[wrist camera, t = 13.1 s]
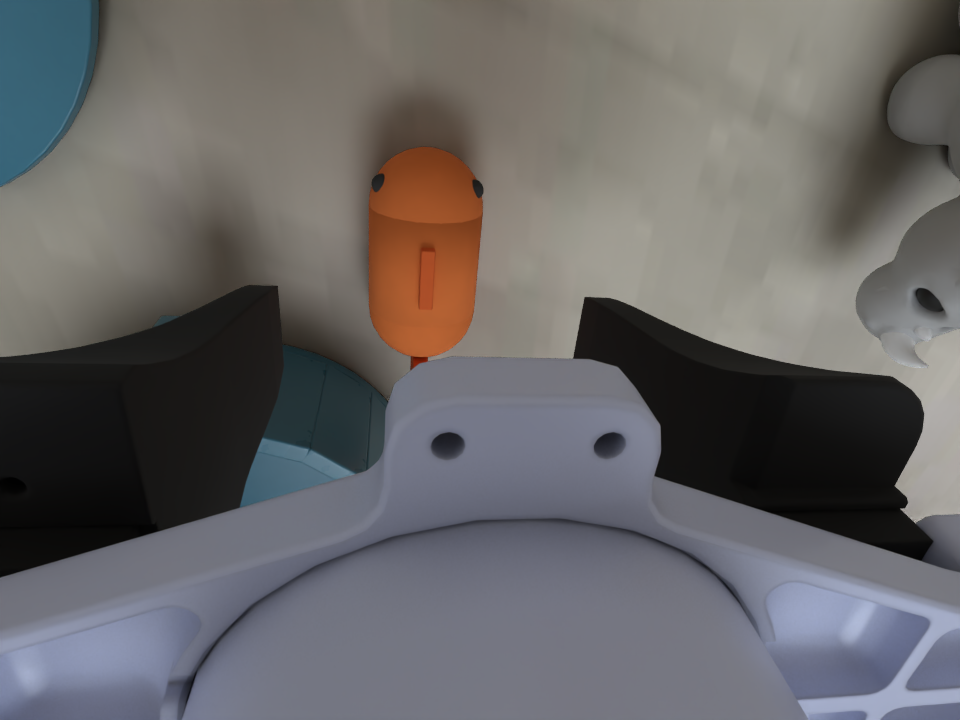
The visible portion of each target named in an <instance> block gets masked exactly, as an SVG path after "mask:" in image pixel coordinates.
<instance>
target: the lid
mask: <svg viewBox="0 0 960 720" xmlns="http://www.w3.org/2000/svg"><path fill="white" fill-rule="evenodd" d="M98 29H99V0H0V187H1V186H3V185H6V184H8V183H10V182H12V181H13V180H15V179H16V178H18V177H20V176H21V175H23V174H24V173H26V172H28V171H29V170H31V169H32V168H33V167H35V166H36V165H37V164H38V163H39V162H40V161H41V160H42V159H44V158H45V157H46V156H47V155H48V154H49V153H50V152H51V151H52V150H53V149H54V148H55V147H56V145H57V144H58V143H59V142H60V140H61V139H62V138H63V136H64V135H65V134H66V133H67V131H68V130H69V129H70V127H71V125H72V123H73V121H74V119H75V117H76V116H77V114H78V112H79V110H80V108H81V106H82V104H83V102H84V99H85V96H86V93H87V90H88V87H89V84H90V81H91V78H92V75H93V70H94V64H95V58H96V52H97V46H98Z"/></svg>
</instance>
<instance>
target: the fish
mask: <svg viewBox="0 0 960 720" xmlns="http://www.w3.org/2000/svg"><path fill="white" fill-rule="evenodd" d="M482 194H483V186H482V184H481V183H480V182H479V181H478V180H476V178H475V176H474V175H473V173H472V172H471V170H470V169H469V168H468V167H467V166H466V165H465V164H464V163H463V162H462V161H461V160H460V159H459V158H457V157H456V156H454V155H452V154H451V153H449V152H446V151H443V150H441V149H438V148H432V147H418V148H413V149H408V150H406V151H403V152H401V153H399V154H397V155H395V156H394V157H393V158H391V159H390V160H389V161H387V162H386V164H385V165H384V166H383V167H382V168H381V169H380V171H379V172H378V174H377V175H376V176H375V177H374V178H373V180H372V187H371V191H370V197H369V309H370V317H371V320H372V323H373V326H374V328H375V329H376V331H377V332H378V334H379V336H380V337H381V338H382V339H383V340H384V341H385V342H386V343H387V344H388V345H389V346H390V347H392V348H393V349H395V350H397V351H398V352H400V353H402V354H405V355H409V356H411V368H410V371H411V370H412V369H413V368H414V367H416V366H417V365H418V364H419V363H424V362H428V357H430V356H435V355H439V354H441V353H443V352H445V351H448V350H449V349H451V348H452V347H453V346H455V345H456V344H457V343H458V342H459V341H460V340H461V339H462V338H463V336H464V335H465V334H466V332H467V330H468V328H469V325H470V323H471V321H472V317H473V312H474V303H475V292H476V281H477V270H478V259H479V248H480V237H481V226H482V215H483V201H482Z"/></svg>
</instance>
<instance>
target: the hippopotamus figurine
mask: <svg viewBox="0 0 960 720" xmlns="http://www.w3.org/2000/svg"><path fill="white" fill-rule="evenodd" d="M958 20H959V28H960V4H959V12H958ZM887 119H888V124H889V127H890V129H891V130H892V132H893V133H894V134H895V135H896V136H898V137H899V138H901V139H903V140H905V141H908V142H912V143H916V144H923V145H948V146H949V149H948V163H949V167H950V169H951V171H952V173H953V174H954V175H955V176H956V177H957V178H958V179H959V181H960V55H955V54H949V55H940V56H935V57H932V58H929V59H926V60H924V61H922V62H920V63H918V64H917V65H915V66H914V67H912V68H911V69H909V70H908V71H907V72H906V73H905V74H904V75H903V76H902V77H901V78H900V79H899V80H898V82H897V83H896V84H895V86H894V88H893V90H892V92H891V95H890V99H889V102H888V108H887ZM856 311H857V314H858V316H859V318H860V320H861V322H862V323H863V325H864V326H865V328H866V329H867V330H868V331H869V332H870V333H871V334H872V335H874V336H875V337H877V338H879V340H880V341H881V343H882V346H883V348H884V350H885V352H886V353H887V354H888V356H889V357H890V358H891V359H893V360H894V361H896V362H897V363H900V364H902V365H905V366H910V367H916V368H928V366H929V365H927V364H926V363H924V362H923V361H922V360H921V359H920V358H919V357H918V356H917V354H916V353H915V350H914V344H917V343H918V342H922V341H930V339H931V338H933V337H936V336H939V335H942V334H945V333H947V332H950V331H953V330H956V329H960V195H959V196H958V197H956V198H954V199H952V200H950V201H948V202H945V203H943V204H941V205H939V206H937V207H935V208H934V209H932V210H930V211H929V212H927V213H926V214H924V215H923V216H922V217H920V218H919V219H918V220H917V221H916V222H915V223H914V224H913V225H912V226H911V227H910V228H909V230H908V231H907V232H906V234H905V235H904V237H903V239H902V241H901V243H900V246H899V249H898V251H897V254H896V256H895V259H894V260H893V261H892V262H890V263H888V264H885V265H883V266H881V267H880V268H878V269H876V270H875V271H873V272H872V273H871V274H870V275H869V276H867V277H866V278H865V280H864V281H863V282H862V284H861V286H860V287H859V290H858V292H857V296H856Z"/></svg>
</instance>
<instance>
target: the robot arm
mask: <svg viewBox="0 0 960 720" xmlns="http://www.w3.org/2000/svg"><path fill="white" fill-rule="evenodd" d="M283 369H284V358H283V345H282V333H281V320H280V308H279V295H278V286H261V285H248V286H244V287H242V288H239V289H237V290H235V291H233V292H231V293H228V294H226V295H224V296H222V297H220V298H218V299H216V300H214V301H212V302H210V303H208V304H206V305H204V306H202V307H200V308H198V309H196V310H194V311H191V312H189V313H187V314H185V315H182V316H180V317H178V318H175V319H173V320H171V321H169V322H166V323H164V324H161V325H158V326H156V327H153V328H150V329H147V330H144V331H141V332H138V333H134V334H131V335H128V336H124V337H121V338H117V339H112V340H108V341H104V342H99V343H95V344H91V345H86V346H82V347H77V348H71V349H65V350H59V351H53V352H45V353H37V354H30V355H21V356H11V357H0V720H960V514H956V515H933V516H928V517H925V518H923V519H922V520H920V521H918V522H917V523H916V524H915V523H914V522H913V521H912V520H911V519H910V518H909V517H908V516H907V515H906V514H905V513H904V512H903V511H902V510H901V509H900V508H905V507H906V505H907V504H908V501H907V497H906V496H905V495H903V494H902V493H901V492H900V491H899V490H898V489H897V488H896V487H895V484H896V482H897V480H898V478H899V477H900V475H901V473H902V471H903V469H904V467H905V466H906V464H907V462H908V460H909V458H910V456H911V455H912V453H913V451H914V449H915V447H916V445H917V443H918V440H919V438H920V435H921V433H922V429H923V421H924V412H923V408H922V404H921V401H920V399H919V398H918V397H917V396H916V395H915V393H914V392H913V391H912V390H911V389H909V388H908V387H907V386H905V385H904V384H902V383H901V382H899V381H898V380H897V379H895V378H894V377H891V376H883V375H872V374H862V373H851V372H841V371H832V370H825V369H819V368H813V367H806V366H800V365H795V364H790V363H785V362H780V361H776V360H772V359H768V358H763V357H759V356H755V355H751V354H748V353H744V352H741V351H738V350H735V349H731V348H728V347H725V346H722V345H719V344H716V343H713V342H711V341H708V340H705V339H703V338H700V337H698V336H696V335H693V334H691V333H688V332H686V331H684V330H681V329H679V328H677V327H675V326H673V325H670V324H668V323H666V322H664V321H662V320H660V319H658V318H656V317H654V316H651V315H649V314H647V313H645V312H643V311H641V310H639V309H637V308H635V307H633V306H630V305H628V304H626V303H623V302H621V301H618V300H615V299H611V298H595V297H585V298H584V304H583V309H582V314H581V320H580V325H579V330H578V336H577V341H576V346H575V352H574V357H573V359H558V358H507V357H457V356H452V357H447V358H443V359H438V360H433V361H428V362H424V363H419V364H418V365H417V366H416V367H414V368H413V369H412V370H411V371H409V372H408V373H407V374H406V375H405V376H403V377H402V378H401V379H400V380H398V381H397V382H396V383H395V384H394V387H393V390H392V393H391V396H390V399H389V402H388V405H387V407H386V410H385V442H384V448H383V453H382V455H381V457H380V459H379V460H378V462H376V463H375V464H374V465H373V466H372V467H371V468H370V469H368V470H367V471H364V472H361V473H357V474H354V475H350V476H347V477H344V478H340V479H337V480H333V481H330V482H326V483H323V484H320V485H316V486H313V487H309V488H306V489H302V490H299V491H296V492H292V493H289V494H285V495H282V496H278V497H275V498H272V499H268V500H265V501H261V502H258V503H254V504H251V505H248V506H244V507H241V508H240V505H241V501H242V496H243V492H244V488H245V484H246V481H247V478H248V475H249V472H250V469H251V466H252V463H253V461H254V458H255V456H256V453H257V451H258V448H259V445H260V443H261V440H262V438H263V435H264V433H265V430H266V427H267V425H268V422H269V420H270V417H271V414H272V412H273V409H274V406H275V404H276V401H277V398H278V394H279V389H280V384H281V379H282V374H283Z"/></svg>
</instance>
